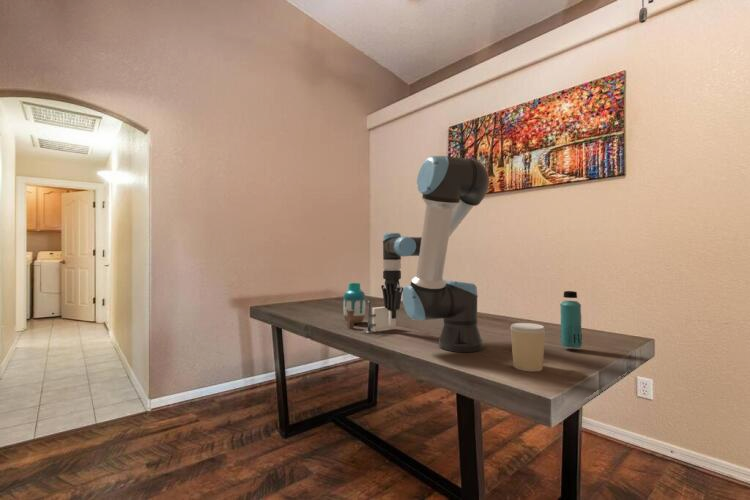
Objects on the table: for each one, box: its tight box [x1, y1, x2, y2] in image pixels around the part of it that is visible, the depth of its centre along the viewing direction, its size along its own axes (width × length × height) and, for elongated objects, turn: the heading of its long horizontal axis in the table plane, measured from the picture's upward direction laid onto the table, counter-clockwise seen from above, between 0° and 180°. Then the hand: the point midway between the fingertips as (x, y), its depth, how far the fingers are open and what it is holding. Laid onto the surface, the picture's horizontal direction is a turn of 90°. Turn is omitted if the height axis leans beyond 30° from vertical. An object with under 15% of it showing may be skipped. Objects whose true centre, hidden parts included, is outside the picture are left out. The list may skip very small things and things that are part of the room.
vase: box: [342, 282, 367, 325], centre depth 172 cm, size 11×11×19 cm
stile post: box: [346, 309, 355, 330], centre depth 161 cm, size 3×3×8 cm
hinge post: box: [364, 300, 375, 334], centre depth 152 cm, size 4×4×13 cm
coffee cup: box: [509, 322, 546, 372], centre depth 105 cm, size 9×9×12 cm
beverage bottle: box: [559, 290, 583, 349], centre depth 123 cm, size 6×7×20 cm
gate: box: [371, 306, 396, 331], centre depth 156 cm, size 12×2×9 cm, turn 123°
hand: (392, 325), depth 152 cm, fingers closed
